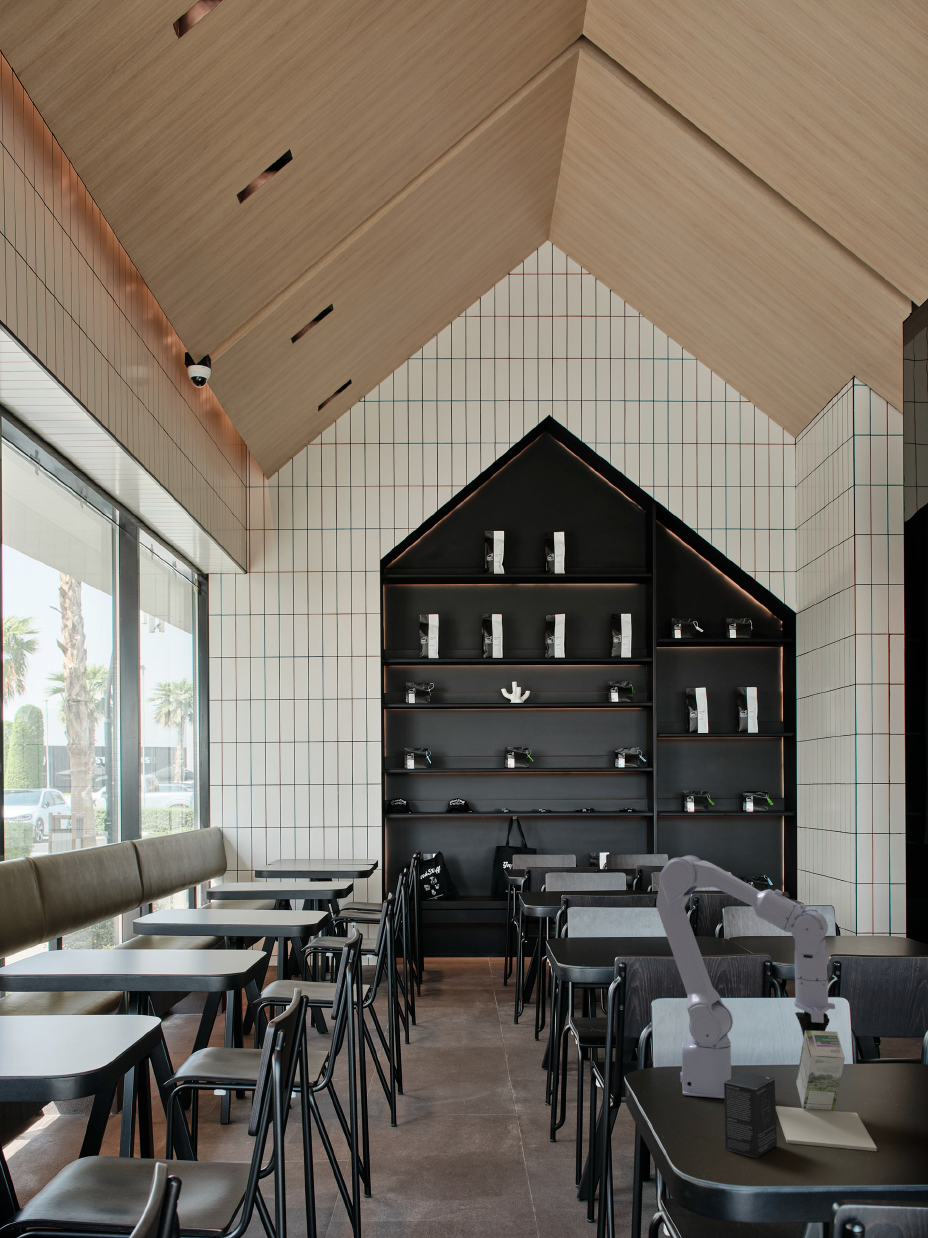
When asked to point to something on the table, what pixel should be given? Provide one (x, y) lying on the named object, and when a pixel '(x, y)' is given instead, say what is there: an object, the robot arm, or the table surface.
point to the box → (750, 1114)
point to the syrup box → (820, 1070)
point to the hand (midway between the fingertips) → (813, 1055)
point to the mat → (824, 1128)
